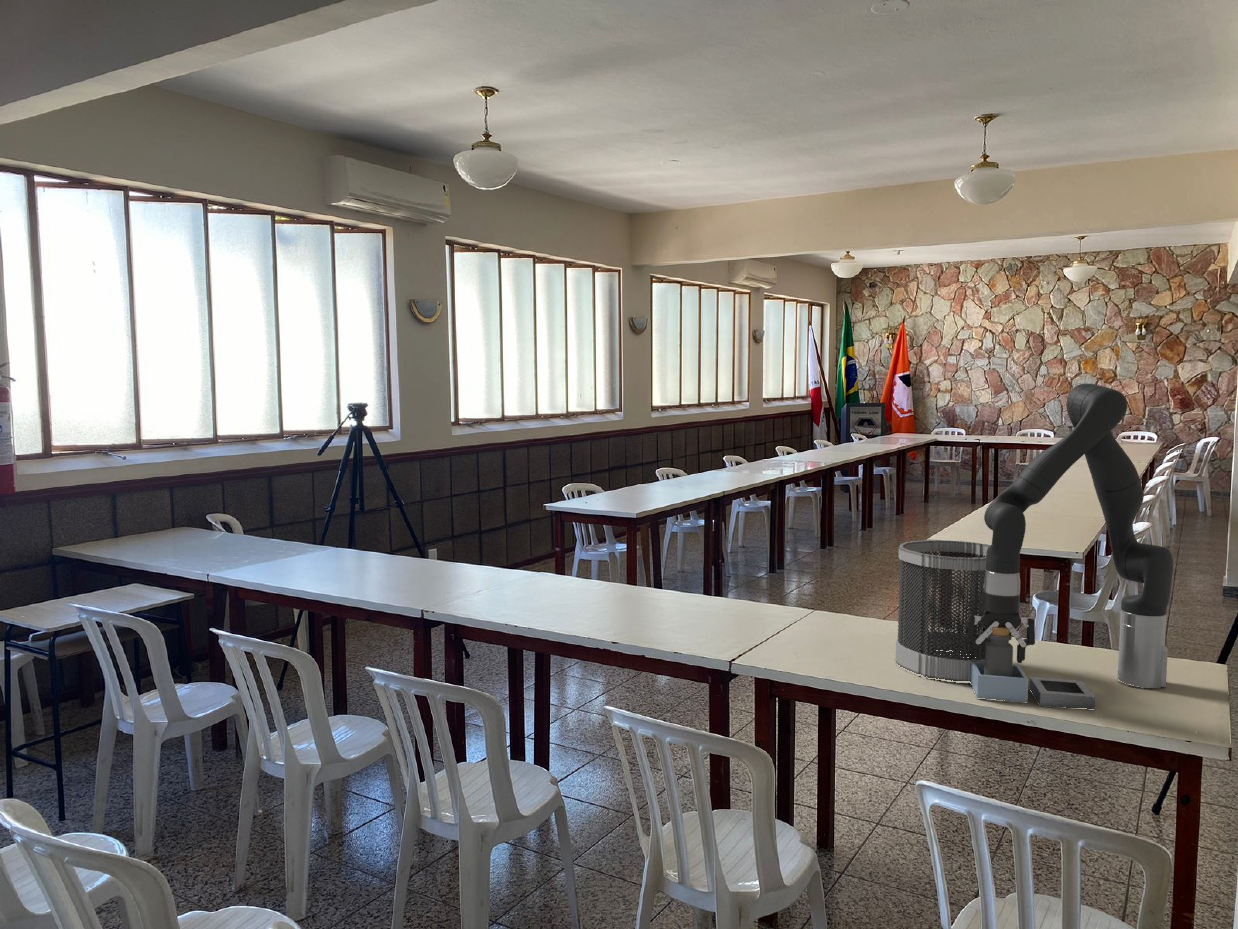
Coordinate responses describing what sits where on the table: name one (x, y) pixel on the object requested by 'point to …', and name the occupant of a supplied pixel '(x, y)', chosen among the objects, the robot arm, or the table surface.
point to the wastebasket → (939, 607)
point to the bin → (999, 684)
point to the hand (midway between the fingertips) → (999, 660)
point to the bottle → (999, 653)
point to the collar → (1062, 693)
